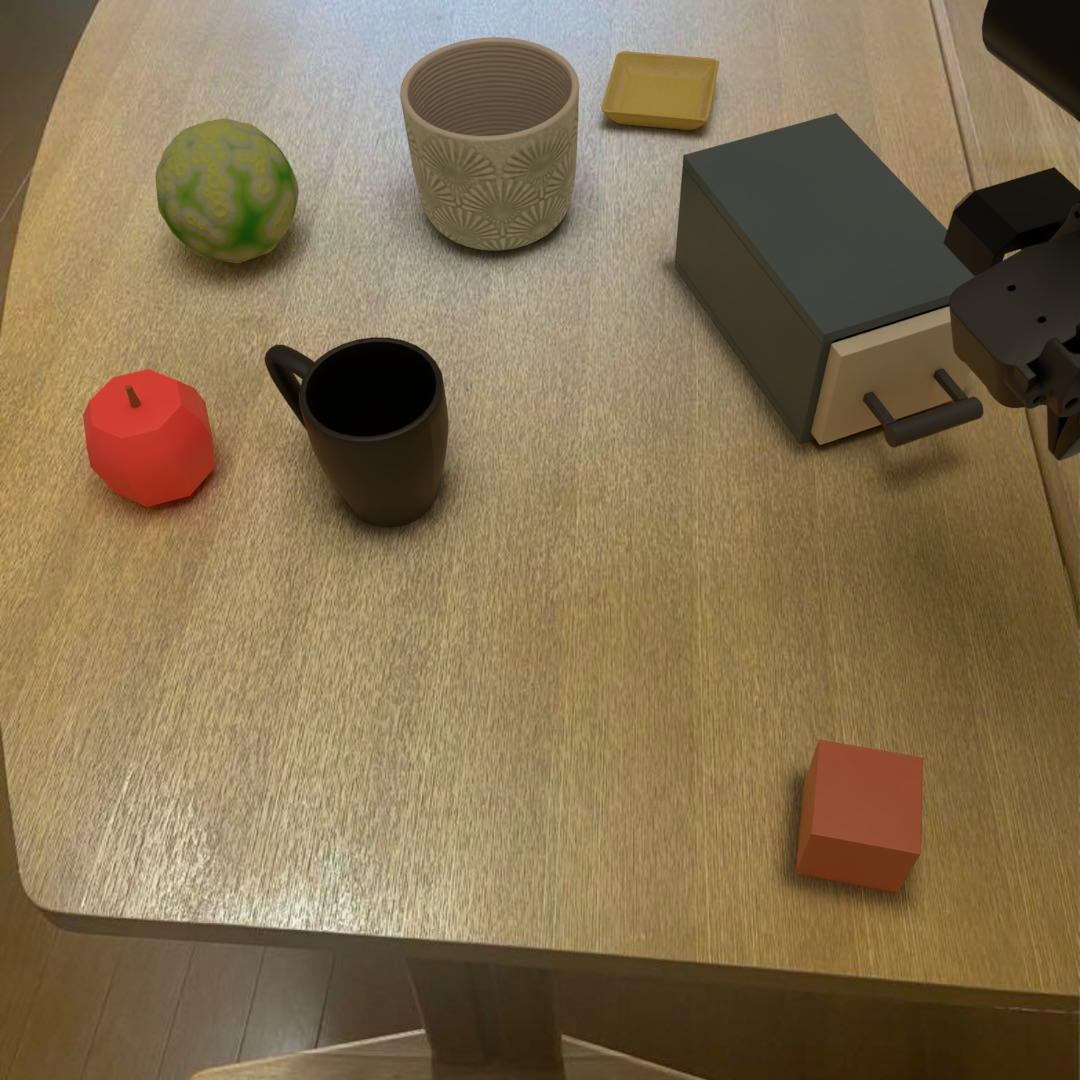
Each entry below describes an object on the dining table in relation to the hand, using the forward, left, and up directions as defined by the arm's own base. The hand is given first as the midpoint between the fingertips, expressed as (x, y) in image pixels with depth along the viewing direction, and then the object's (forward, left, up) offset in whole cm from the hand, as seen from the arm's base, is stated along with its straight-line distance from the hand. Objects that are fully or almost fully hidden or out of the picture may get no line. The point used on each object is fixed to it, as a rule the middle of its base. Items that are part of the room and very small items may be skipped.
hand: (1061, 453), depth 58 cm
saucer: (+26, -45, -13) cm, 54 cm away
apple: (+51, 0, -13) cm, 53 cm away
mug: (+38, -2, -13) cm, 40 cm away
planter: (+36, -29, -13) cm, 48 cm away
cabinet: (+12, -21, -13) cm, 27 cm away
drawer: (+10, -18, -12) cm, 24 cm away
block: (+7, +16, -13) cm, 22 cm away
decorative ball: (+54, -22, -13) cm, 60 cm away
